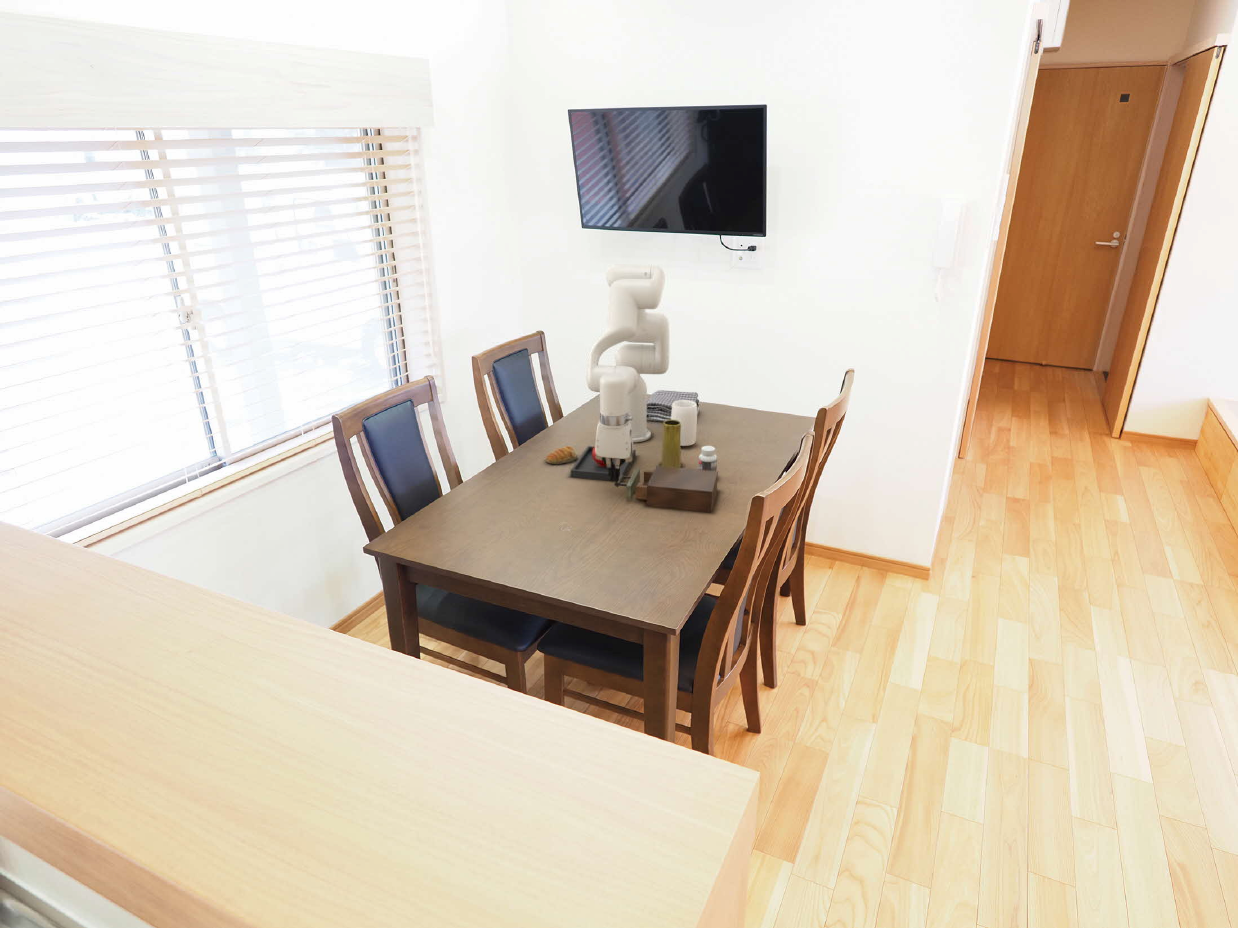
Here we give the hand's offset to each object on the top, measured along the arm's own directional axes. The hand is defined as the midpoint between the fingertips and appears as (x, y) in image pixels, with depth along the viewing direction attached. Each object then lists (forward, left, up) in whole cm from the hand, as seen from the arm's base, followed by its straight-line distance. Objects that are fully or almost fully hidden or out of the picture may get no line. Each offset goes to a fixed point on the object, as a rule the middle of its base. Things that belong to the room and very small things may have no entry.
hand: (614, 478), depth 223 cm
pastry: (-19, -21, -4) cm, 29 cm away
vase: (-22, +13, -4) cm, 26 cm away
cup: (-40, +14, -4) cm, 42 cm away
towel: (-66, +6, -4) cm, 66 cm away
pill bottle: (-15, +25, -4) cm, 29 cm away
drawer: (0, +11, -3) cm, 12 cm away
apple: (-17, -7, -3) cm, 19 cm away
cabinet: (0, +20, -4) cm, 20 cm away
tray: (-17, -7, -4) cm, 19 cm away
